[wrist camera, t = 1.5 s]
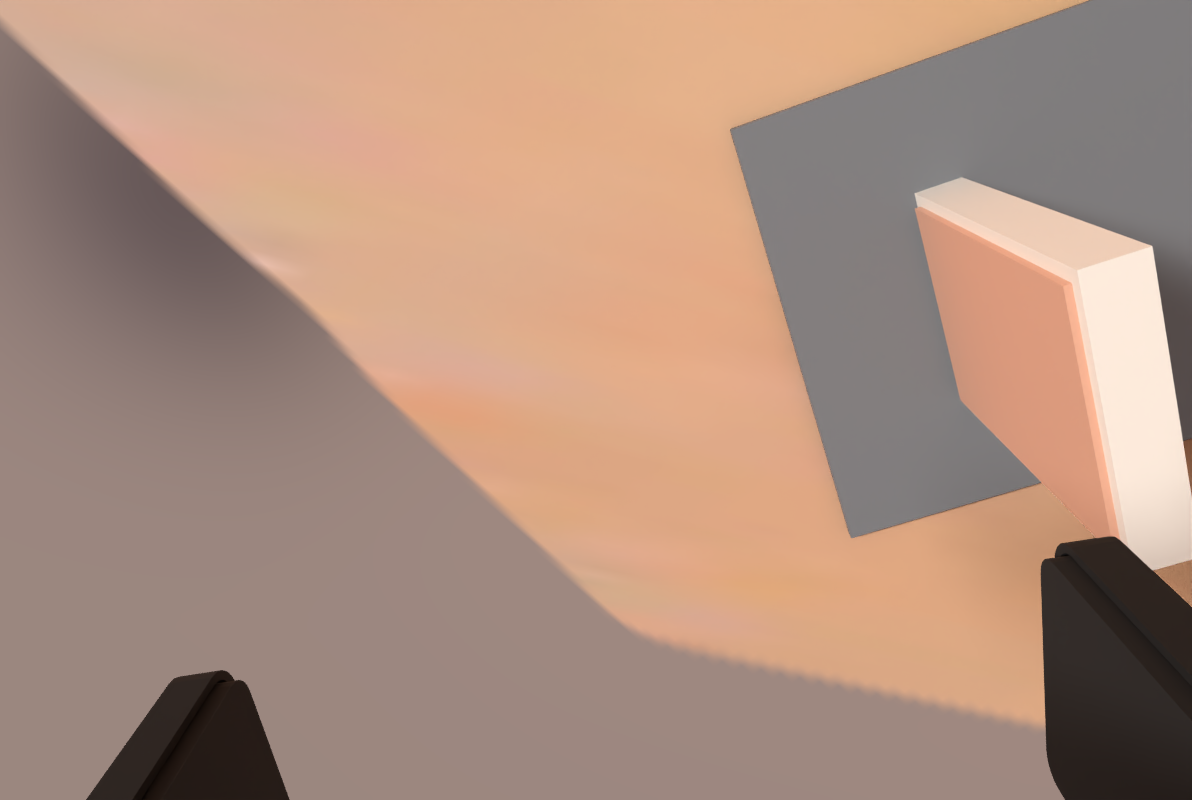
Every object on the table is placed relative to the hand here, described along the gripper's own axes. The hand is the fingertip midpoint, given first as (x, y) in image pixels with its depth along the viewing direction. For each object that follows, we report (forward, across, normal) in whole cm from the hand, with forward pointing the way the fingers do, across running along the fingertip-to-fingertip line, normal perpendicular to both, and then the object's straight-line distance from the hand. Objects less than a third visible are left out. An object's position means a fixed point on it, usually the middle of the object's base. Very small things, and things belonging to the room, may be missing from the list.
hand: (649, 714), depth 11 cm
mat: (+24, -15, +2) cm, 28 cm away
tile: (+23, -12, +3) cm, 26 cm away
